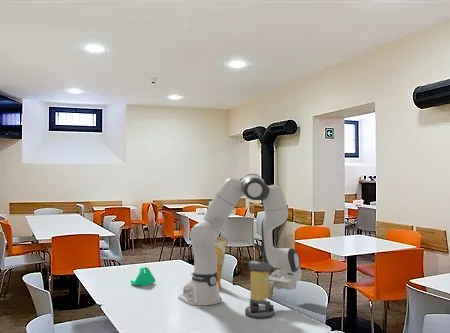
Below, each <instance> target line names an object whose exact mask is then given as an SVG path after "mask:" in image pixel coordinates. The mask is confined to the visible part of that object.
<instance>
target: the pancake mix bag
mask: <svg viewBox="0 0 450 333" xmlns="http://www.w3.org/2000/svg"><path fill="white" fill-rule="evenodd" d="M227 245H228V239H227V238H226V237H223V236H220V235H219V236H218V238H217V239H216V240H215V241H214V247H215V252H216V255H217V272H218V280H217V282H218V285H219V290H221V289H222V286H221V285H222V283H221V279H222V276H223V275H222V274H223V267H224V261H225V257H226V250H227V247H228V246H227Z"/></svg>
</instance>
